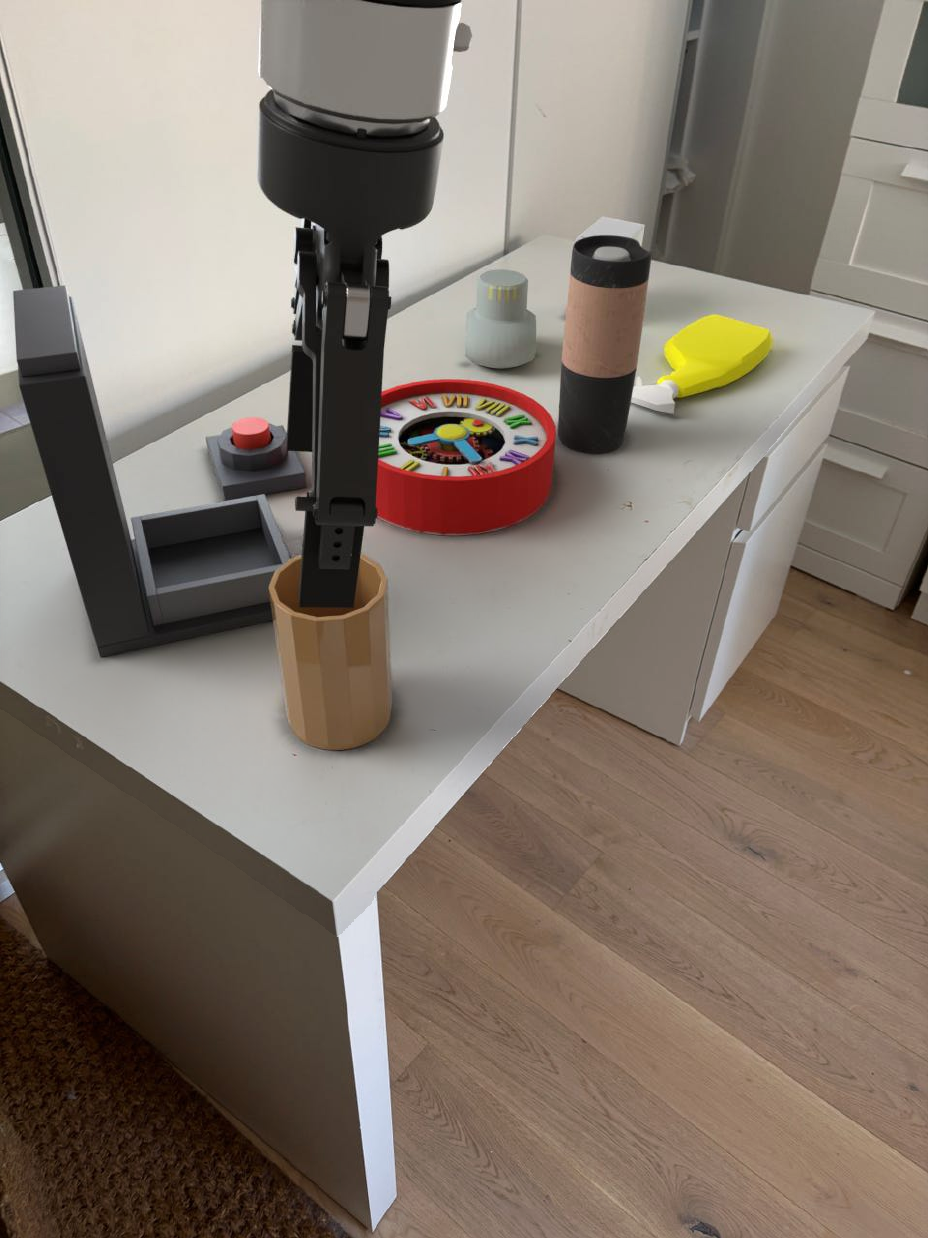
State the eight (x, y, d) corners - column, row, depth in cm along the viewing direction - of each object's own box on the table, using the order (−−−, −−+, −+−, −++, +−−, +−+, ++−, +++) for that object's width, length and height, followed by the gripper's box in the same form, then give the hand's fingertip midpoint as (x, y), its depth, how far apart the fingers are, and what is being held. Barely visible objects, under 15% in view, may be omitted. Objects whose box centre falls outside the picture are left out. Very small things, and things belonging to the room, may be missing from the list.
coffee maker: (301, 614, 80) (269, 333, 64) (99, 657, 75) (13, 366, 60) (266, 523, 90) (231, 262, 74) (86, 557, 85) (9, 285, 70)
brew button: (274, 447, 94) (272, 431, 93) (237, 453, 93) (235, 437, 92) (266, 430, 97) (264, 414, 96) (230, 435, 96) (228, 419, 95)
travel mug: (545, 446, 102) (561, 254, 89) (567, 414, 107) (585, 229, 94) (615, 461, 100) (642, 267, 87) (634, 428, 105) (661, 241, 92)
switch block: (306, 487, 95) (303, 455, 92) (224, 501, 92) (219, 469, 90) (284, 439, 102) (281, 409, 100) (207, 451, 100) (202, 420, 97)
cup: (301, 762, 67) (284, 631, 60) (277, 689, 73) (258, 561, 65) (405, 735, 69) (401, 606, 62) (374, 666, 75) (367, 539, 67)
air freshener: (534, 379, 114) (540, 296, 107) (464, 377, 114) (466, 294, 107) (531, 341, 122) (536, 261, 116) (466, 339, 122) (468, 259, 116)
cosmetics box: (611, 328, 126) (621, 246, 119) (565, 318, 128) (572, 237, 121) (635, 300, 133) (646, 222, 126) (591, 292, 135) (600, 214, 128)
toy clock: (498, 365, 103) (595, 453, 89) (495, 415, 107) (588, 506, 93) (319, 399, 96) (394, 500, 82) (323, 451, 100) (396, 555, 86)
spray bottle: (778, 354, 120) (683, 430, 106) (699, 330, 125) (598, 400, 111) (783, 331, 118) (687, 406, 104) (703, 308, 124) (601, 376, 109)
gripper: (506, 241, 31) (415, 685, 45) (405, 33, 49) (362, 401, 63) (270, 216, 29) (251, 687, 44) (253, 10, 47) (244, 394, 61)
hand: (316, 519), depth 53 cm, fingers open, 13 cm apart
